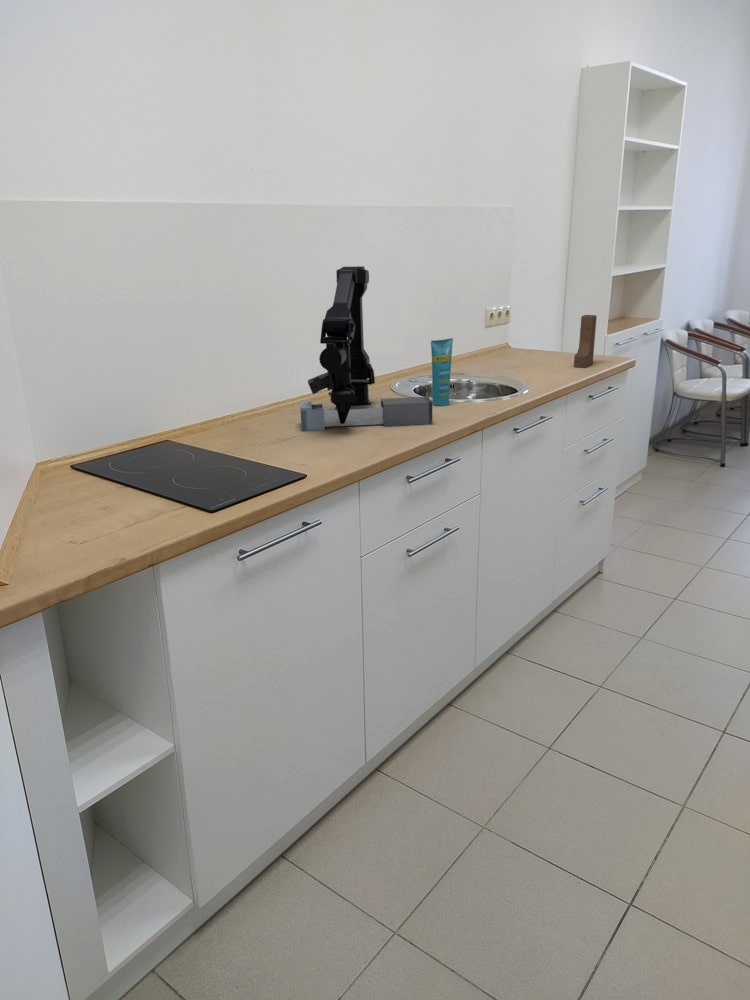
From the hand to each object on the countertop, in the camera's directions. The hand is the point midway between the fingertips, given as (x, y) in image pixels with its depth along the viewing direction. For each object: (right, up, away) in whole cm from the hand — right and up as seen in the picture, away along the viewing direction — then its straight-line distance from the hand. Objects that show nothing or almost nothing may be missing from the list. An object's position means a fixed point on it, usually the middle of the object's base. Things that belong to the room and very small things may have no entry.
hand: (341, 421), depth 198 cm
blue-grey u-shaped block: (-8, -1, 0) cm, 8 cm away
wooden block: (+86, +29, +75) cm, 118 cm away
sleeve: (+18, 0, +2) cm, 18 cm away
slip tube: (+4, -1, +1) cm, 4 cm away
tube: (+29, +7, +21) cm, 36 cm away
